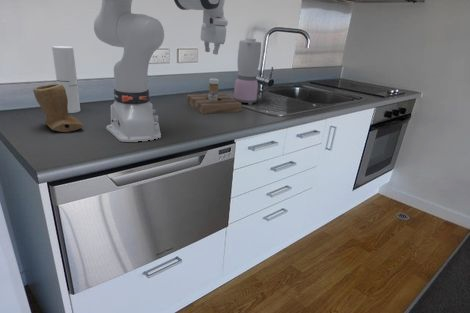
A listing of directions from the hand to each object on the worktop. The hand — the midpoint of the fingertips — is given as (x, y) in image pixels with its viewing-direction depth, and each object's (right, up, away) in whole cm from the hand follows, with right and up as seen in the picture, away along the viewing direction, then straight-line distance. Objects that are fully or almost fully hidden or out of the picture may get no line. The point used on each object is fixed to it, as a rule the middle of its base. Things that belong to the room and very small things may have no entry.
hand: (211, 53), depth 143 cm
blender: (+16, -17, +27) cm, 36 cm away
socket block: (0, -23, +11) cm, 25 cm away
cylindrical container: (-57, -28, -13) cm, 65 cm away
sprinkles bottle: (0, -23, +11) cm, 25 cm away
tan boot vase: (-51, -37, -31) cm, 70 cm away
